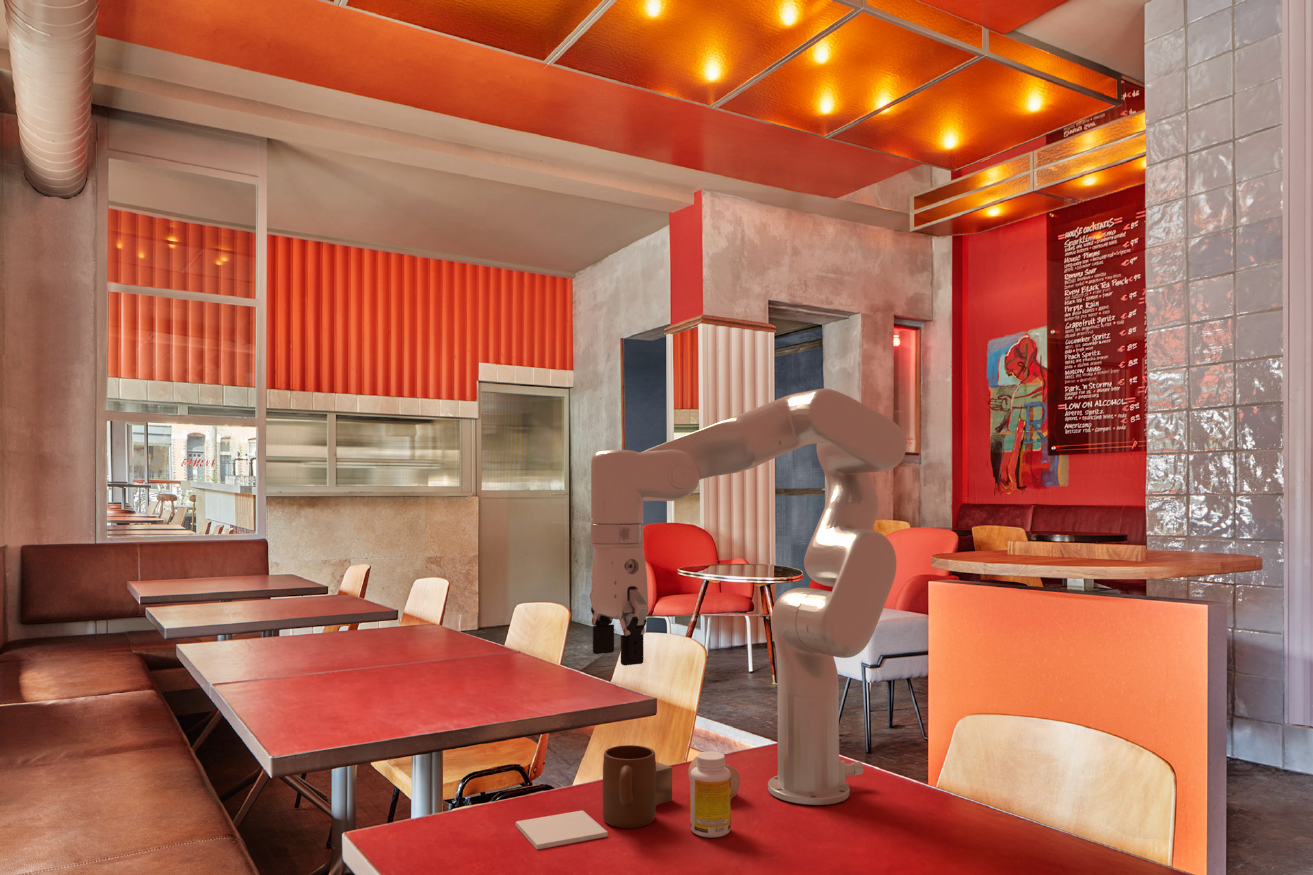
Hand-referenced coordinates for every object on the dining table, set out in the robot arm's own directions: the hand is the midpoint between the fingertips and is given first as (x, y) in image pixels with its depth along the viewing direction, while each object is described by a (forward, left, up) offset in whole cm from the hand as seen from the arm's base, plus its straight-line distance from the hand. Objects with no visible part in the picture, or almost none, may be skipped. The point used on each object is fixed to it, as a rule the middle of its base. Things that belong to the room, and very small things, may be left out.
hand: (617, 658), depth 119 cm
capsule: (-19, -6, -23) cm, 31 cm away
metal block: (-9, -8, -23) cm, 26 cm away
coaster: (+7, -2, -23) cm, 24 cm away
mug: (-2, 0, -23) cm, 23 cm away
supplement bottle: (-11, +7, -23) cm, 27 cm away
